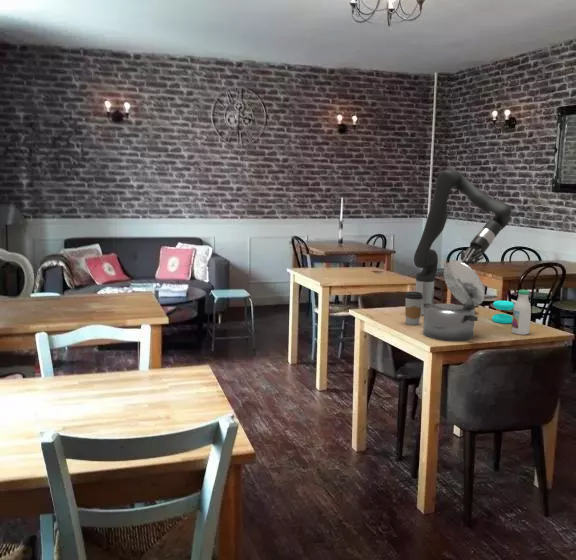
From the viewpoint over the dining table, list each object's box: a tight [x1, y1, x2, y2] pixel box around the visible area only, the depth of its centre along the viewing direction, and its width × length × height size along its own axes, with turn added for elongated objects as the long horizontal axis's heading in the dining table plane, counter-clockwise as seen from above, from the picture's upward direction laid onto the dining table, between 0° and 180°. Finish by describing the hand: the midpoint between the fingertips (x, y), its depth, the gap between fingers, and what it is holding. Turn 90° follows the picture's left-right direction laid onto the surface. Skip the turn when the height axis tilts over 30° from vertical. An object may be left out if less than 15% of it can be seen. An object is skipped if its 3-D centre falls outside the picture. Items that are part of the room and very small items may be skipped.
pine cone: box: [450, 296, 479, 310], centre depth 341 cm, size 18×10×10 cm, turn 34°
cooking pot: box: [422, 303, 479, 342], centre depth 291 cm, size 31×22×12 cm
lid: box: [443, 259, 485, 309], centre depth 292 cm, size 23×24×3 cm
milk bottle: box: [511, 289, 532, 336], centre depth 297 cm, size 8×8×20 cm
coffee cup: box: [404, 291, 423, 326], centre depth 310 cm, size 8×8×15 cm
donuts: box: [491, 300, 515, 325], centre depth 320 cm, size 10×10×10 cm
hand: (460, 268), depth 289 cm, fingers closed
